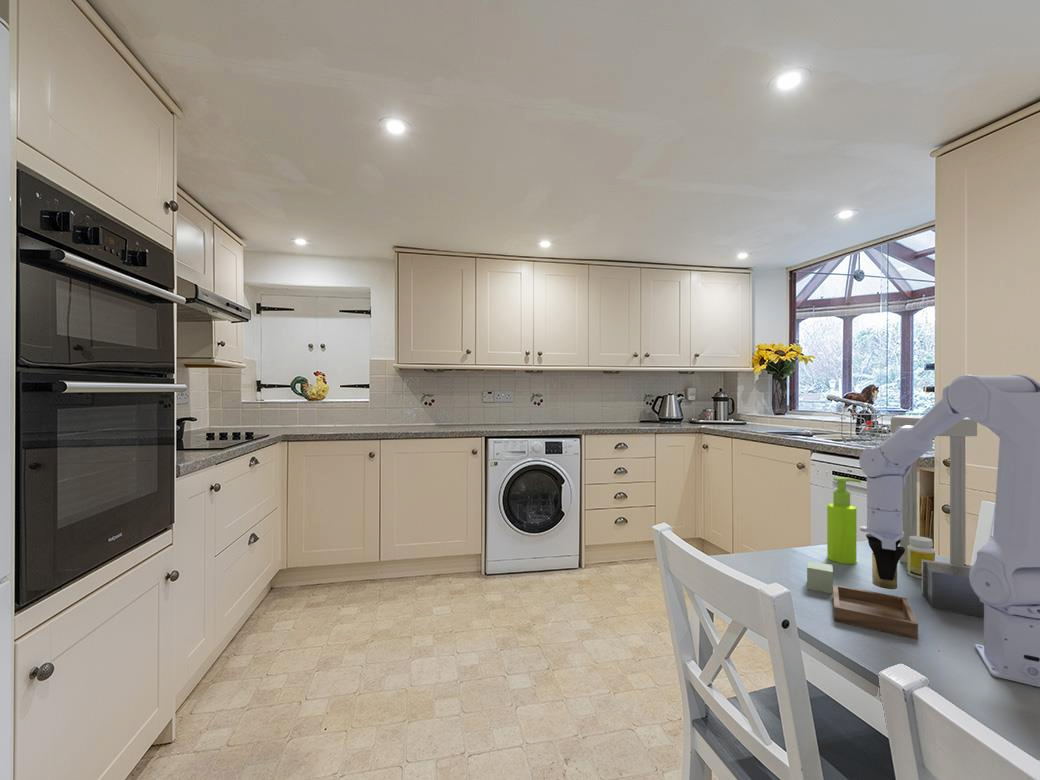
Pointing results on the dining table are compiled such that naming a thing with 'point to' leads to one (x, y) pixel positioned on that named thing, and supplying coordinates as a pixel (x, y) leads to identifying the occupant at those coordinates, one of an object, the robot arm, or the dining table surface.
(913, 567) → the supplement bottle
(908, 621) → the walnut tray
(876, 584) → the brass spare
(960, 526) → the stool
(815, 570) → the sage block
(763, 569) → the dining table surface
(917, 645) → the dining table surface
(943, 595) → the block
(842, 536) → the soap dispenser
